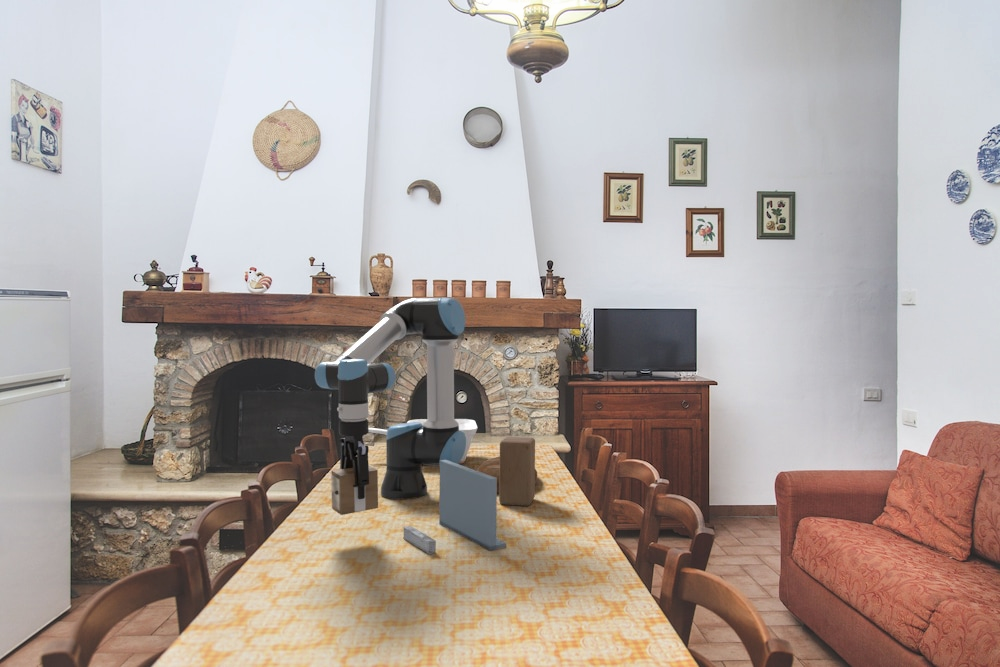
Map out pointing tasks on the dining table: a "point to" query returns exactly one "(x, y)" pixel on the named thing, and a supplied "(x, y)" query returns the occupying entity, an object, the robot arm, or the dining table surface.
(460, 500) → the wall board
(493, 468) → the bread
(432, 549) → the cleat rail
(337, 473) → the wooden box
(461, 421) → the pot
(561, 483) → the dining table surface
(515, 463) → the wooden block
